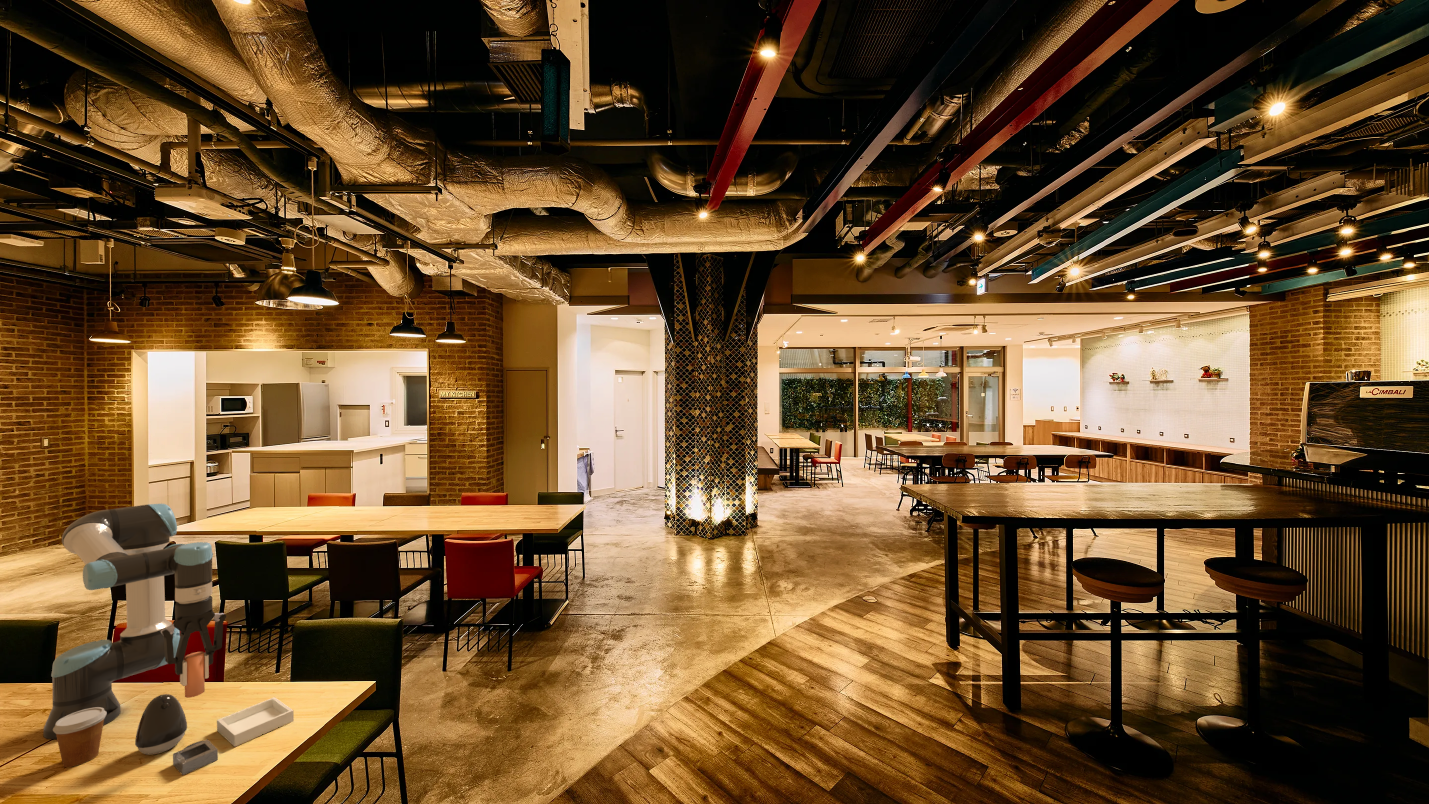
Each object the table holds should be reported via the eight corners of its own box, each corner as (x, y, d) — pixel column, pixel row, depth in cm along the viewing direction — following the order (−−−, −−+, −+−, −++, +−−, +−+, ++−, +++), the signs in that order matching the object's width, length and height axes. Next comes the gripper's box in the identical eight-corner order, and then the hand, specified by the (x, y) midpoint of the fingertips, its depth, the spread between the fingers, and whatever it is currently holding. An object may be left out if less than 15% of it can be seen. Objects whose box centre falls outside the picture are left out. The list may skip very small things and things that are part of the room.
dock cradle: (217, 730, 157) (216, 719, 157) (274, 707, 169) (274, 696, 169) (234, 746, 150) (234, 735, 150) (293, 720, 162) (293, 710, 162)
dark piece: (140, 765, 142) (140, 710, 142) (131, 752, 148) (130, 698, 148) (192, 744, 151) (191, 692, 151) (181, 732, 157) (180, 682, 156)
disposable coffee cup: (69, 773, 139) (68, 729, 139) (43, 768, 141) (43, 724, 141) (116, 750, 149) (116, 708, 149) (91, 745, 151) (91, 704, 151)
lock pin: (182, 695, 148) (182, 656, 148) (201, 688, 151) (201, 650, 151) (187, 699, 146) (187, 659, 146) (206, 692, 149) (206, 653, 149)
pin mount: (173, 764, 143) (172, 753, 143) (207, 749, 149) (207, 739, 149) (182, 775, 139) (182, 764, 139) (217, 759, 145) (217, 749, 145)
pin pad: (178, 751, 148) (178, 749, 148) (206, 739, 153) (206, 737, 153) (185, 758, 145) (185, 757, 145) (213, 746, 150) (213, 744, 150)
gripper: (155, 612, 139) (156, 699, 139) (237, 592, 153) (238, 670, 154) (147, 606, 143) (147, 690, 143) (228, 586, 157) (228, 663, 158)
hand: (194, 680), depth 149 cm, fingers closed on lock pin, 4 cm apart
